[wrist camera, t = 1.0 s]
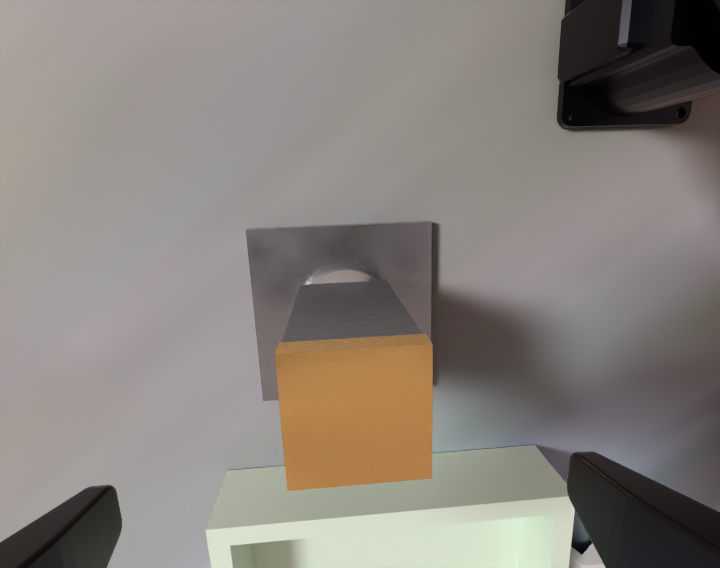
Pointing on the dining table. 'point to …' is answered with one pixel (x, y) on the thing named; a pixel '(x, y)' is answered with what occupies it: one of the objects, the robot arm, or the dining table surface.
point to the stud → (333, 273)
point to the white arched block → (585, 559)
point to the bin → (400, 517)
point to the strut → (354, 388)
